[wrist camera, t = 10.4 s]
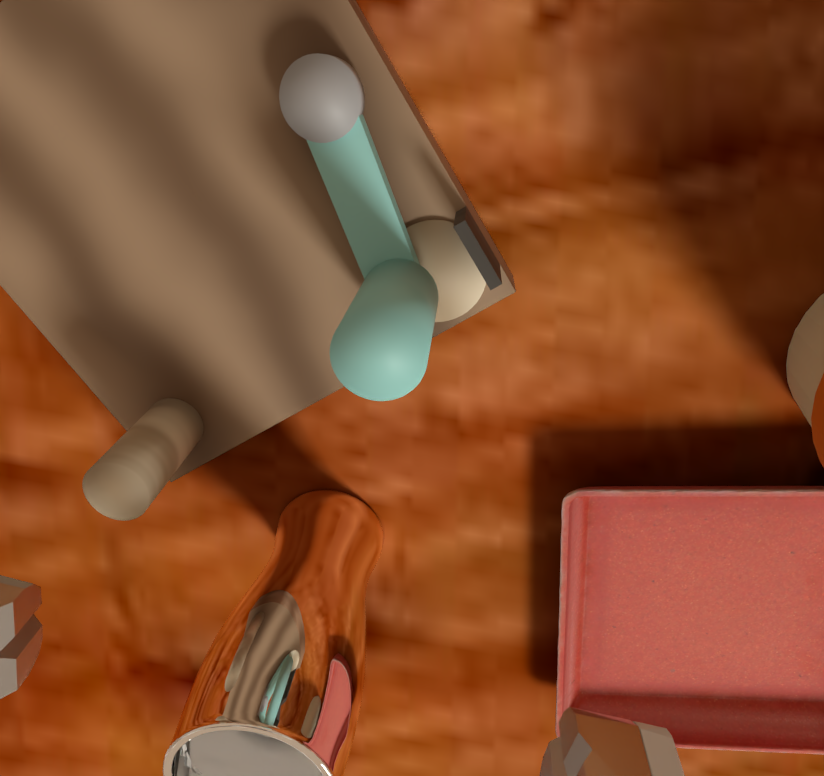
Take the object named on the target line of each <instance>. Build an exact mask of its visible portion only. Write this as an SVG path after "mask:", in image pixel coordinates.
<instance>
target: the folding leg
mask: <svg viewBox="0 0 824 776" xmlns="http://www.w3.org/2000/svg"><path fill="white" fill-rule="evenodd" d="M279 101H280V107H281V111H282V113H283V116H284V118H285V120H286V122H287V123H288V125H289V126H290V127H291V128H292V130H294V131H295V132H296V133H297V134H298V135H299V136H301V137H303V138H304V139H306V140H307V143H308V145H309V148H310V150H311V152H312V155H313V157H314V160H315V162H316V164H317V167H318V169H319V172H320V174H321V176H322V179H323V181H324V184H325V186H326V188H327V191H328V193H329V196H330V198H331V200H332V203H333V205H334V208H335V210H336V212H337V215H338V217H339V220H340V222H341V224H342V227H343V229H344V232H345V234H346V236H347V239H348V241H349V244H350V246H351V248H352V251H353V253H354V256H355V258H356V260H357V263H358V265H359V267H360V270H361V272H362V275H363V277H364V279H365V280H364V281H363V283H362V285H361V287H360V288H359V290H358V292H357V294H356V296H355V297H354V299H353V301H352V303H351V304H350V306H349V308H348V310H347V311H346V313H345V315H344V317H343V319H342V320H341V322H340V324H339V326H338V327H337V329H336V331H335V333H334V335H333V337H332V340H331V344H330V361H331V365H332V368H333V371H334V373H335V375H336V376H337V378H338V379H339V381H340V382H341V383H342V384H343V385H344V386H345V387H346V388H347V389H348V390H350V391H351V392H353V393H354V394H356V395H358V396H360V397H363V398H365V399H369V400H375V401H388V400H394V399H397V398H400V397H402V396H404V395H406V394H408V393H409V392H411V391H412V390H413V389H414V388H415V387H416V386H417V385H418V384H419V383H420V381H421V379H422V378H423V376H424V374H425V371H426V367H427V362H428V357H429V351H430V345H431V340H432V334H433V329H434V323H435V317H436V312H437V306H438V289H437V285H436V283H435V281H434V279H433V277H432V276H431V274H430V273H429V272H428V271H427V270H426V269H425V268H424V267H423V266H421V265H420V263H419V261H418V258H417V255H416V253H415V250H414V248H413V245H412V242H411V240H410V237H409V234H408V232H407V229H406V227H405V224H404V221H403V219H402V216H401V213H400V211H399V208H398V206H397V203H396V200H395V198H394V195H393V192H392V190H391V187H390V185H389V182H388V179H387V177H386V174H385V171H384V169H383V166H382V163H381V161H380V158H379V156H378V153H377V150H376V148H375V145H374V142H373V140H372V137H371V135H370V132H369V129H368V127H367V124H366V121H365V119H364V116H363V112H364V107H365V92H364V87H363V84H362V82H361V79H360V77H359V76H358V74H357V72H356V71H355V70H354V68H353V67H352V66H351V65H350V64H348V63H347V62H346V61H344V60H342V59H341V58H338V57H336V56H332V55H327V54H319V53H316V54H308V55H305V56H302V57H301V58H299V59H297V60H296V61H294V62H293V63H292V64H291V65H290V66H289V68H288V69H287V70H286V72H285V74H284V75H283V78H282V80H281V84H280V90H279Z"/></svg>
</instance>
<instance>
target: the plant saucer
mask: <svg viewBox="0 0 824 776" xmlns="http://www.w3.org/2000/svg"><path fill="white" fill-rule="evenodd" d="M568 707H573V708H578V709H583V710H587V711H592V712H596V713H601V714H605V715H610V716H615V717H619V718H624V719H628V720H631V721H636V722H640V723H645V724H649V725H653V726H658V727H662V728H667V730H668V731H669V732H670V734H671V735H672V737H673V741H674V744H675V747H676V748H694V749H717V750H735V751H759V752H783V753H807V754H824V486H601V487H584V488H578V489H576V490H574V491H571V492H569V493H568V494H567V495H566V496H565V497H564V499H563V501H562V510H561V557H560V588H559V634H558V664H557V699H556V735H557V737H560V731H559V723H558V722H559V720H560V718H561V716H562V714H563V712H564V711H565V710H566V709H567V708H568Z"/></svg>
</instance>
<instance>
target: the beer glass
mask: <svg viewBox="0 0 824 776" xmlns="http://www.w3.org/2000/svg"><path fill="white" fill-rule="evenodd" d="M383 543H384V536H383V530H382V526H381V524H380V521H379V519H378V518H377V516H376V515H375V513H374V512H373V511H372V510H371V509H370V508H369V507H368V506H367V505H366V504H365V503H363V502H362V501H361V500H359V499H357V498H356V497H354V496H351V495H349V494H346V493H343V492H339V491H334V490H316V491H311V492H307V493H305V494H302V495H300V496H298V497H297V498H295V499H294V500H292V501H291V502H290V503H289V504H288V505H287V506H286V508H285V509H284V510H283V512H282V514H281V516H280V519H279V522H278V526H277V531H276V538H275V544H274V549H273V552H272V555H271V557H270V559H269V561H268V563H267V565H266V566H265V568H264V569H263V570H262V572H261V573H260V575H259V576H258V577H257V579H256V580H255V581H254V583H253V584H252V585H251V587H250V588H249V589H248V590H247V592H246V593H245V594H244V596H243V597H242V598H241V600H240V601H239V603H238V604H237V605H236V607H235V608H234V609H233V611H232V612H231V614H230V615H229V617H228V618H227V620H226V621H225V623H224V624H223V626H222V627H221V629H220V630H219V632H218V634H217V635H216V637H215V639H214V641H213V643H212V645H211V647H210V649H209V651H208V653H207V654H206V656H205V658H204V660H203V662H202V665H201V667H200V669H199V672H198V674H197V676H196V678H195V681H194V683H193V685H192V688H191V690H190V693H189V696H188V698H187V701H186V704H185V706H184V709H183V711H182V714H181V717H180V720H179V723H178V726H177V728H176V731H175V734H174V737H173V739H172V742H171V744H170V747H169V748H168V750H167V752H166V754H165V757H164V762H163V775H164V776H343V775H344V771H345V768H346V765H347V761H348V757H349V754H350V750H351V746H352V743H353V739H354V735H355V731H356V726H357V722H358V717H359V713H360V708H361V702H362V695H363V689H364V682H365V666H366V611H365V605H366V589H367V584H368V580H369V578H370V575H371V573H372V571H373V569H374V568H375V566H376V564H377V562H378V560H379V557H380V555H381V552H382V549H383Z"/></svg>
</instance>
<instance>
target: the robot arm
mask: <svg viewBox="0 0 824 776" xmlns="http://www.w3.org/2000/svg"><path fill="white" fill-rule="evenodd" d="M41 604H42V600H41V587H40V586H37V585H35V584H32V583H28V582H24V581H20V580H17V579H13V578H9V577H5V576H1V575H0V699H1V698H3V697H5V696H7V695H8V694H10V693H12V692H14V691H16V690H18V688H19V687H20V685H21V684H22V683H23V681H24V680H25V679H26V677H27V676H28V674H29V673H30V671H31V669H32V667H33V665H34V663H35V660H36V658H37V656H38V654H39V651H40V646H41V642H42V624H41V623H40V622H39V621H38V619H37V618H36V617H35V615H34V612H35V611H36V610H37V609H38V608H39V606H40V605H41ZM558 723H559V731H560V737H558V738H556V739H554V740H552V741H550V742H549V744H548V746H547V749H546V751H545V754H544V756H543V760H542V766H541V771H540V776H685V775H684V772H683V769H682V766H681V763H680V760H679V756H678V753H677V750H676V747H675V744H674V741H673V737H672V735H671V734H670V732H669V731H668V730H667V728H662V727H658V726H653V725H649V724H645V723H640V722H636V721H631V720H628V719H624V718H619V717H615V716H610V715H605V714H601V713H596V712H592V711H587V710H583V709H578V708H573V707H568V708H567V709H566V710H565V711H564V712H563V714H562V716H561V718H560V720H559V722H558Z"/></svg>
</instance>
